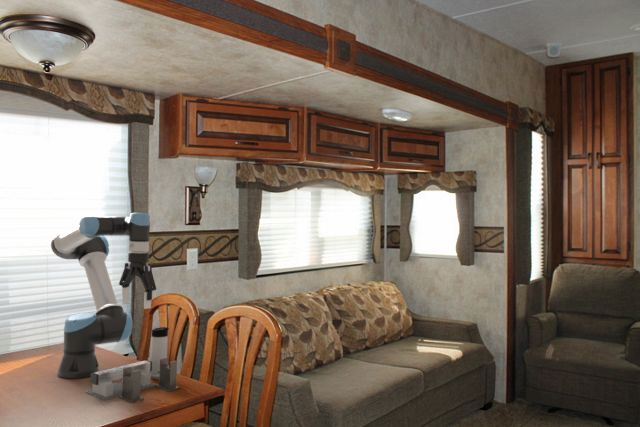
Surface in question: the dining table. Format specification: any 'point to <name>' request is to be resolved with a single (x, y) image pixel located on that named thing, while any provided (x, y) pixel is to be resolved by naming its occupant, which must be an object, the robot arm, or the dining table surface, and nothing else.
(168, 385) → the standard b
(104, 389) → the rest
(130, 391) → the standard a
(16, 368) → the dining table surface
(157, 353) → the travel mug
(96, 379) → the rail
